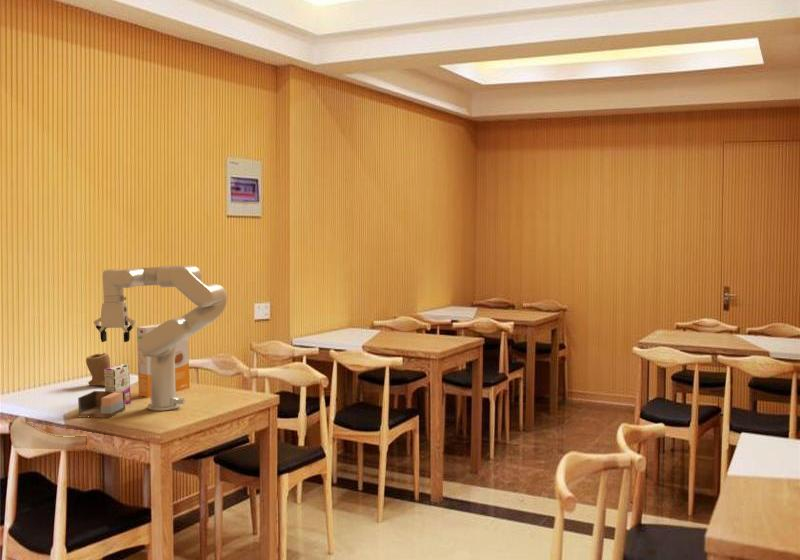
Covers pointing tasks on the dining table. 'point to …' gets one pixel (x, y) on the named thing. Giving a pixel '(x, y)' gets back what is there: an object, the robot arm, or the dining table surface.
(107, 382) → the candy bar box
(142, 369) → the cereal box
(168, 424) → the dining table surface
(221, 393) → the dining table surface
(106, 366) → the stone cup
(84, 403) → the book rack
